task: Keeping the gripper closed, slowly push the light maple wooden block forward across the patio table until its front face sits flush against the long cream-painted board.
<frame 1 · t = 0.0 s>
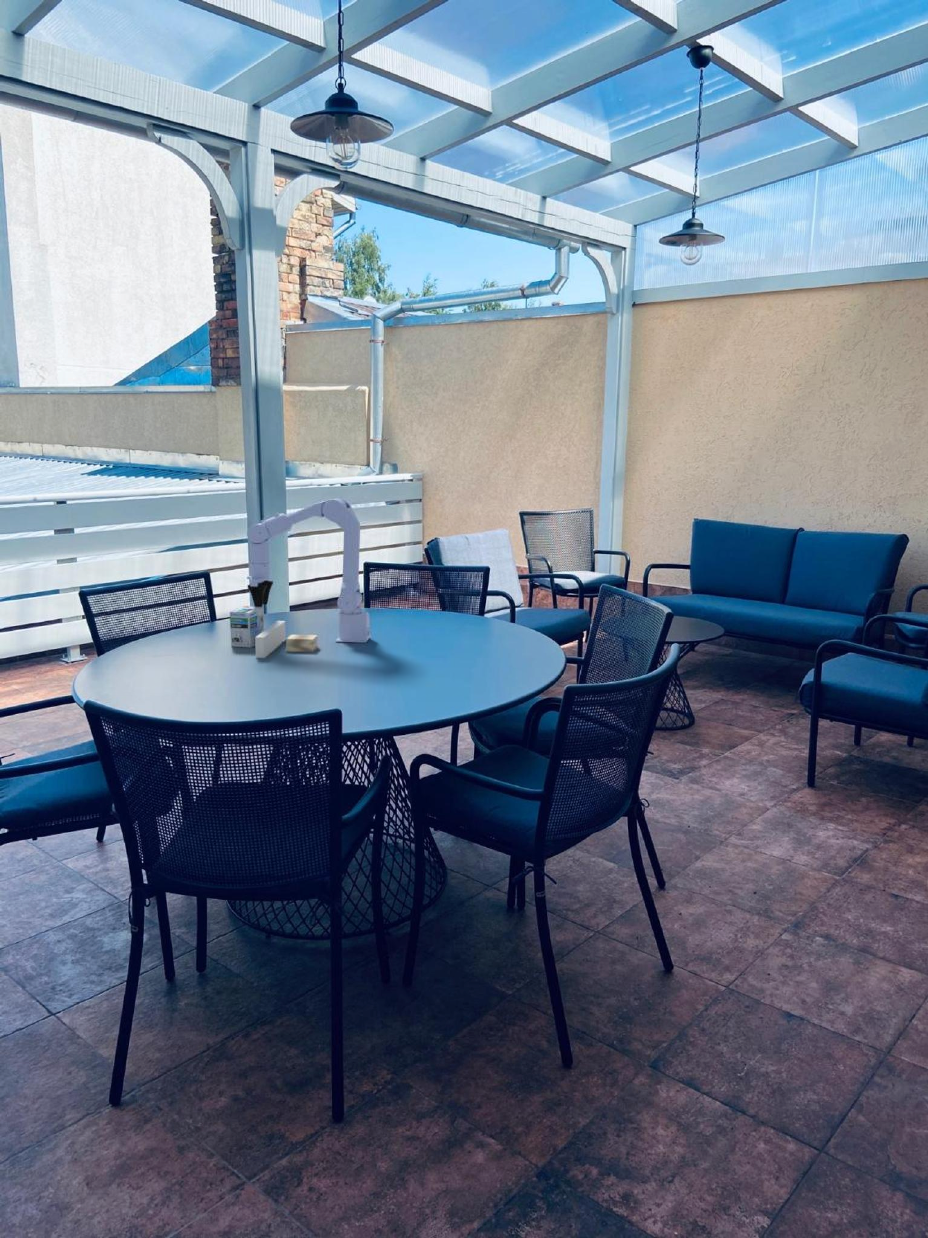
hand: (261, 605, 279), 10 cm above the table, tool pointing down, fingers open, 5 cm apart
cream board: (271, 648, 267), on the table
maple block: (302, 650, 267), on the table
light bulb box: (248, 644, 273), on the table, touching gripper
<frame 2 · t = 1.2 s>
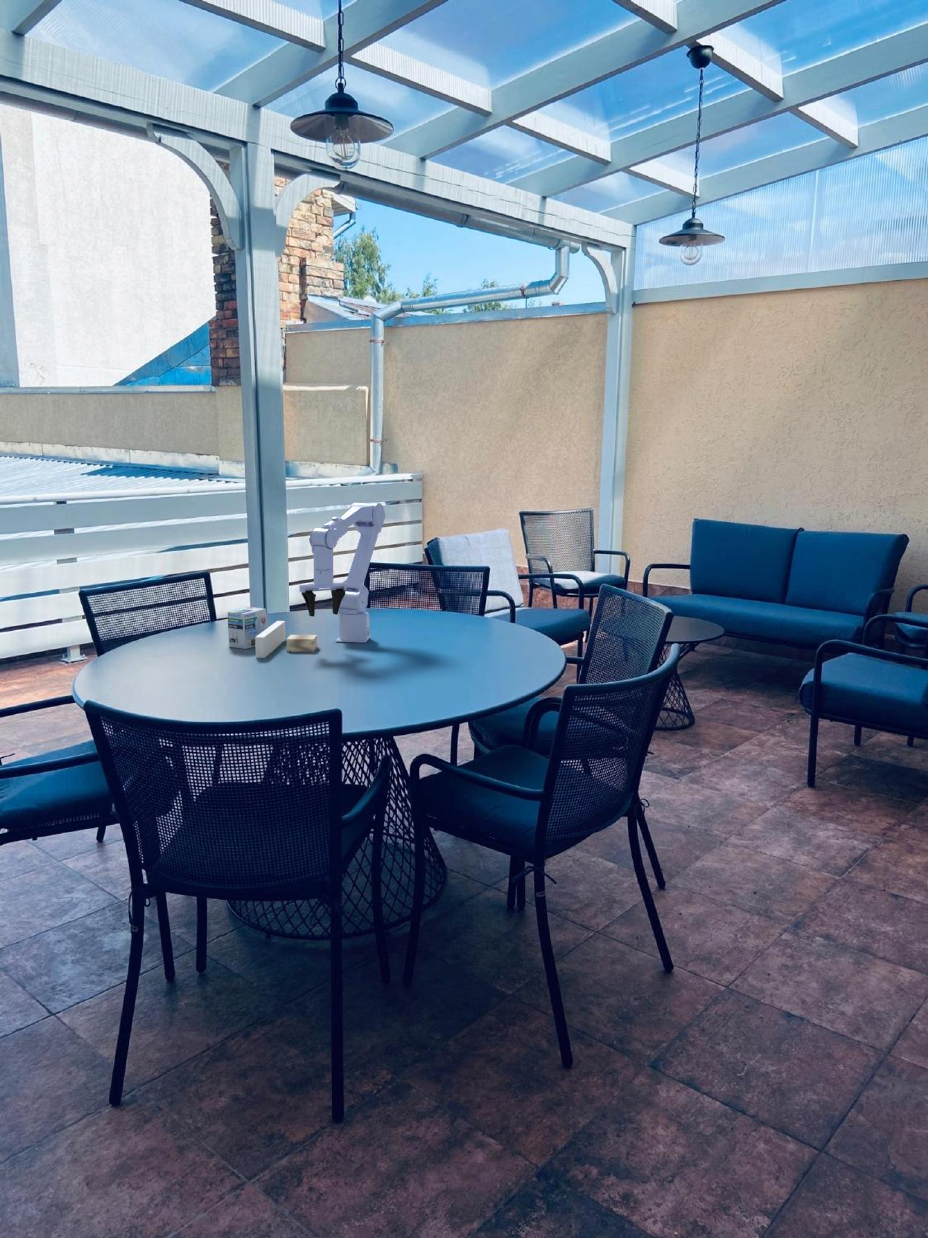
hand: (323, 615, 265), 10 cm above the table, tool pointing down, fingers open, 7 cm apart
light bulb box: (248, 645, 272), on the table
everything else where it was.
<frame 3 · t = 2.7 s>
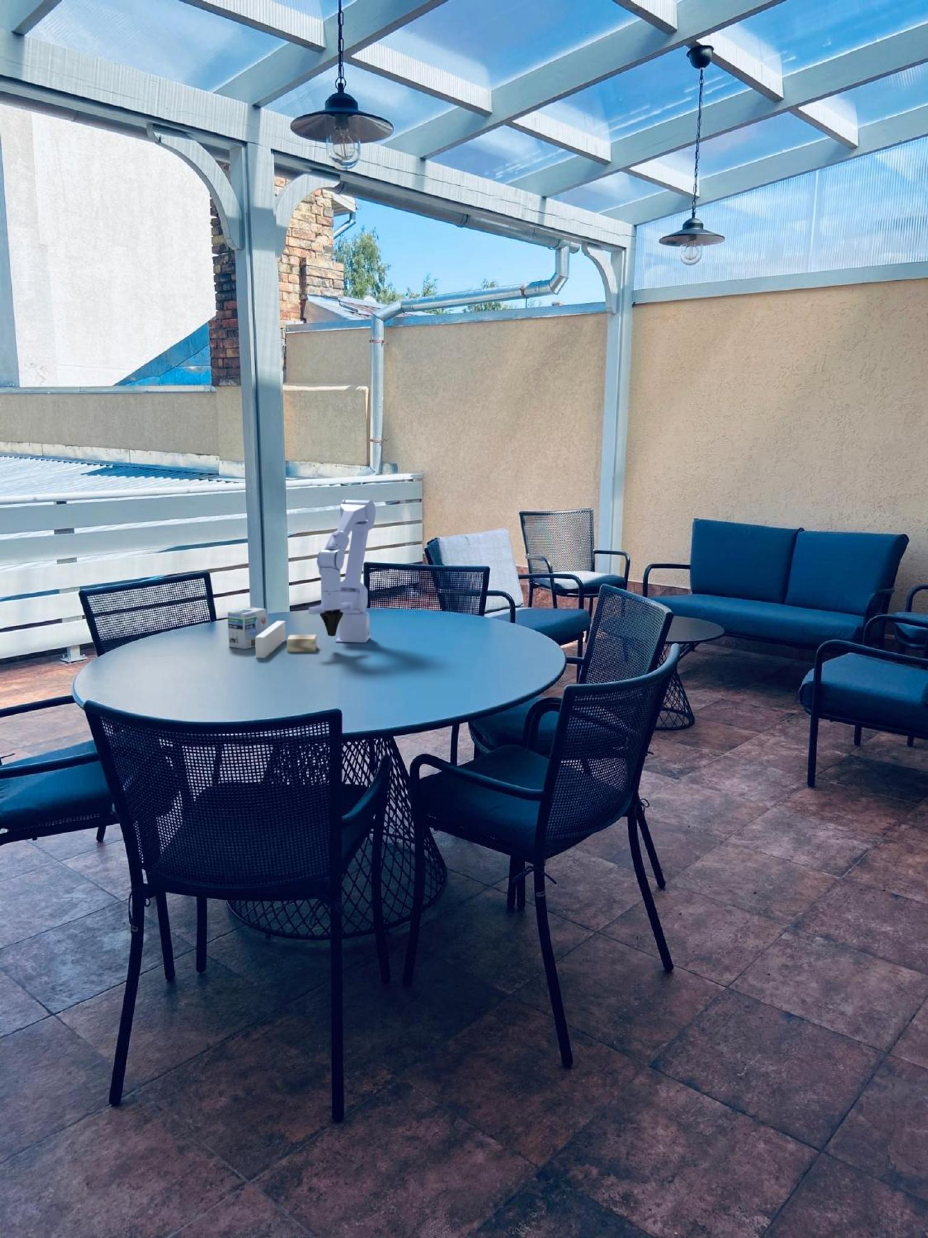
hand: (331, 635, 265), 4 cm above the table, tool pointing down, fingers closed
nothing on the table moved.
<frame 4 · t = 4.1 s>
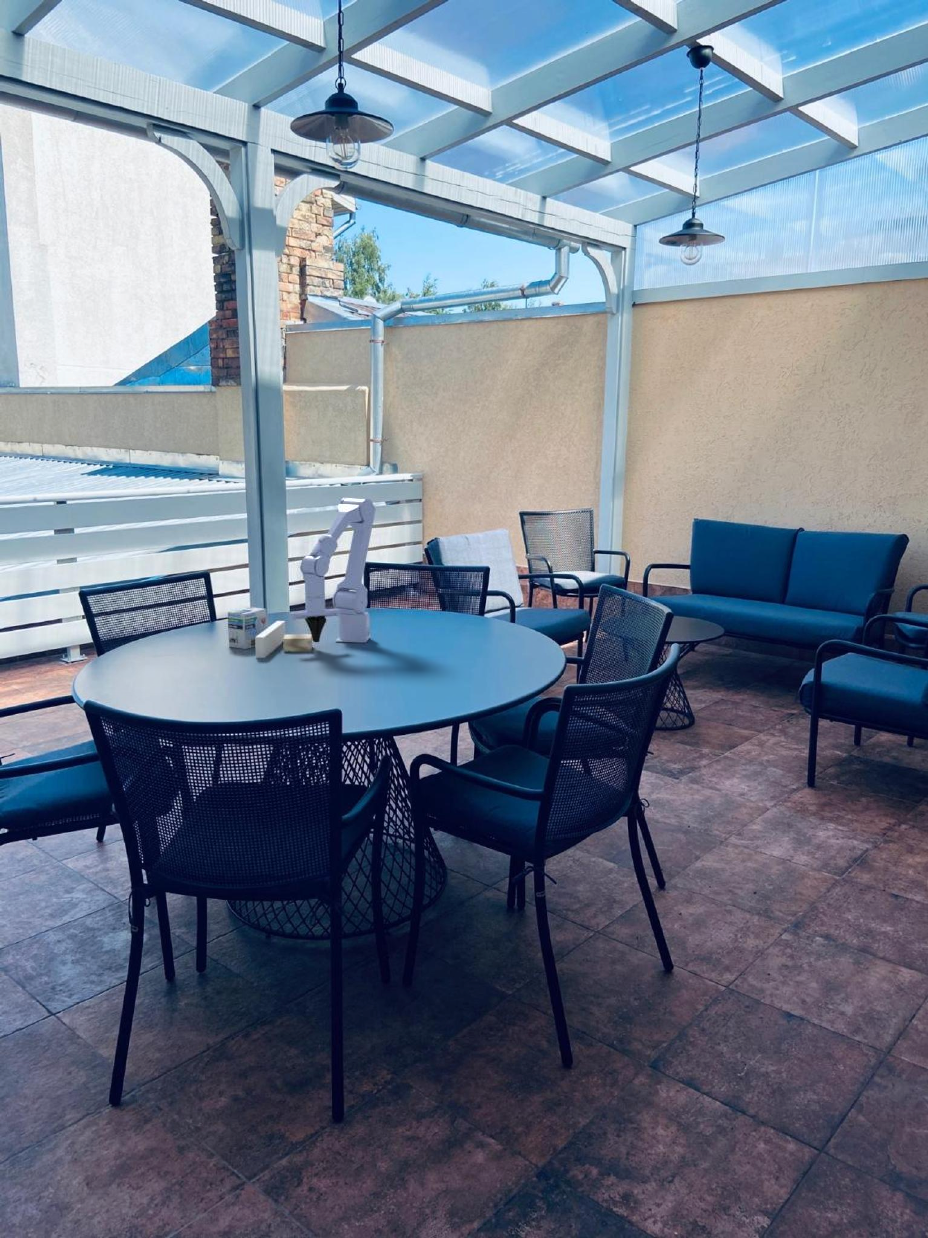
hand: (316, 641, 266), 2 cm above the table, tool pointing down, fingers closed
maple block: (298, 649, 267), on the table, touching gripper
everything else where it was.
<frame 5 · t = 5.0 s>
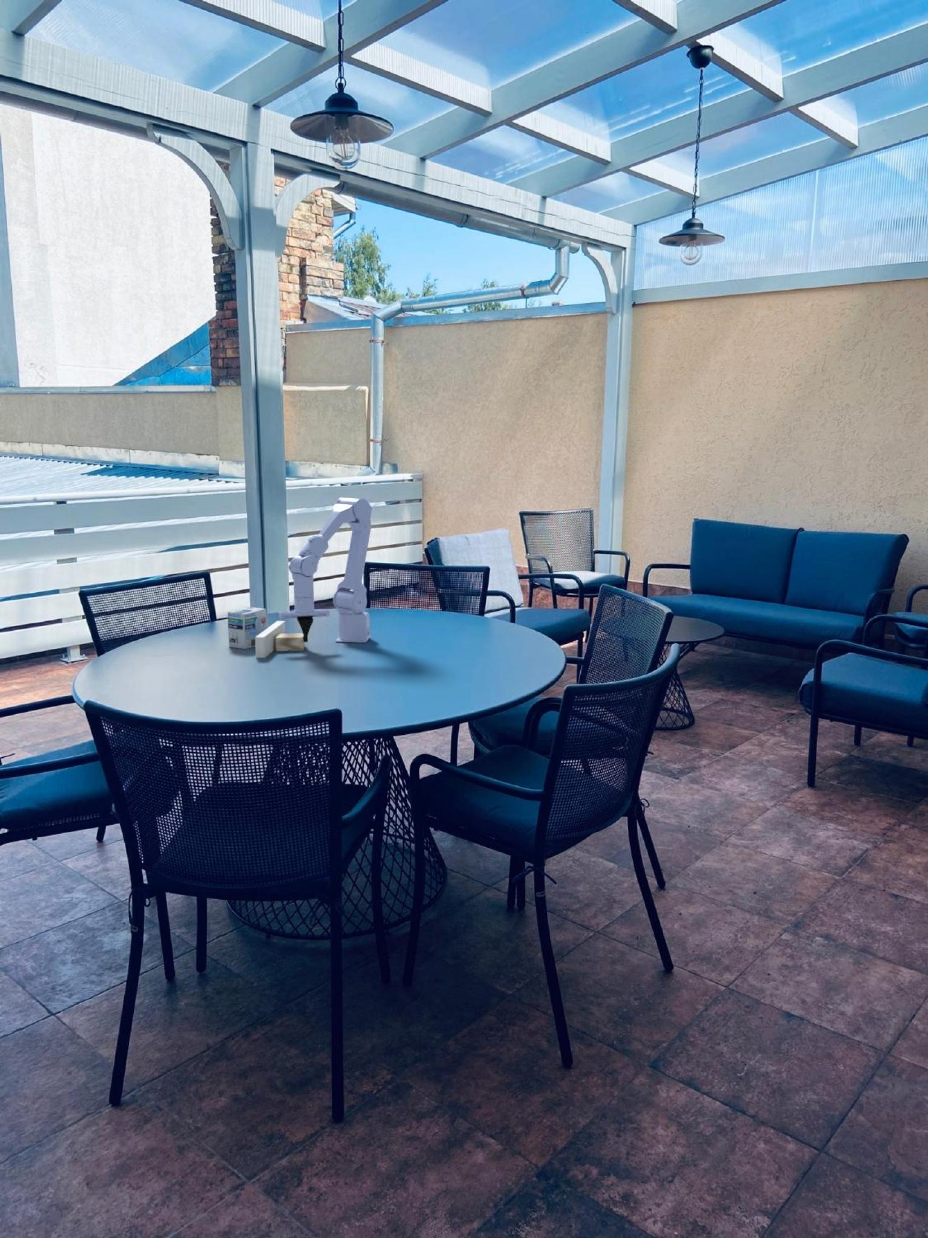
hand: (305, 641, 266), 2 cm above the table, tool pointing down, fingers closed, pressing on maple block
maple block: (290, 648, 267), on the table, touching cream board, gripper
everything else where it was.
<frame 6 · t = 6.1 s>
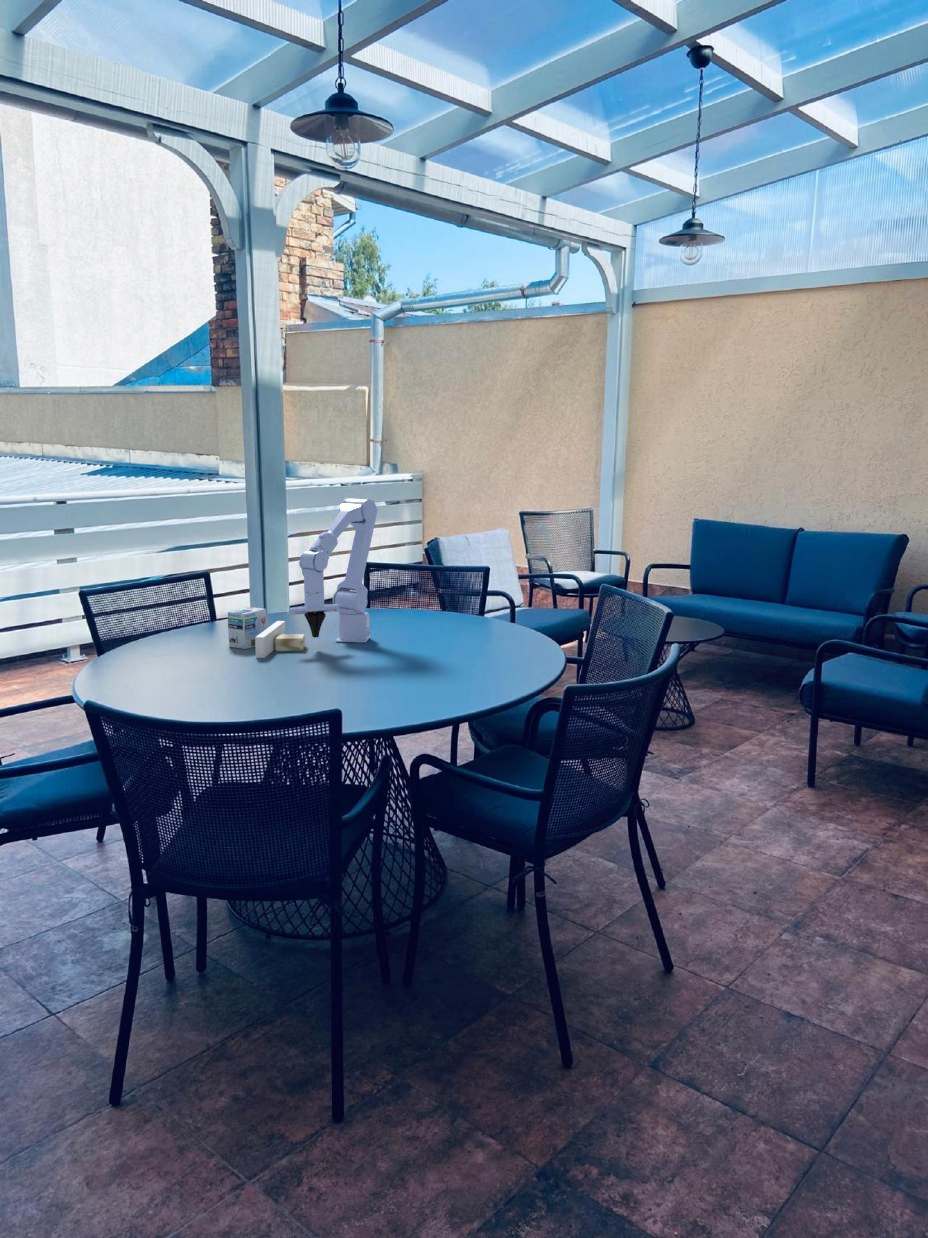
hand: (315, 636, 266), 4 cm above the table, tool pointing down, fingers closed
maple block: (290, 649, 267), on the table
everything else where it was.
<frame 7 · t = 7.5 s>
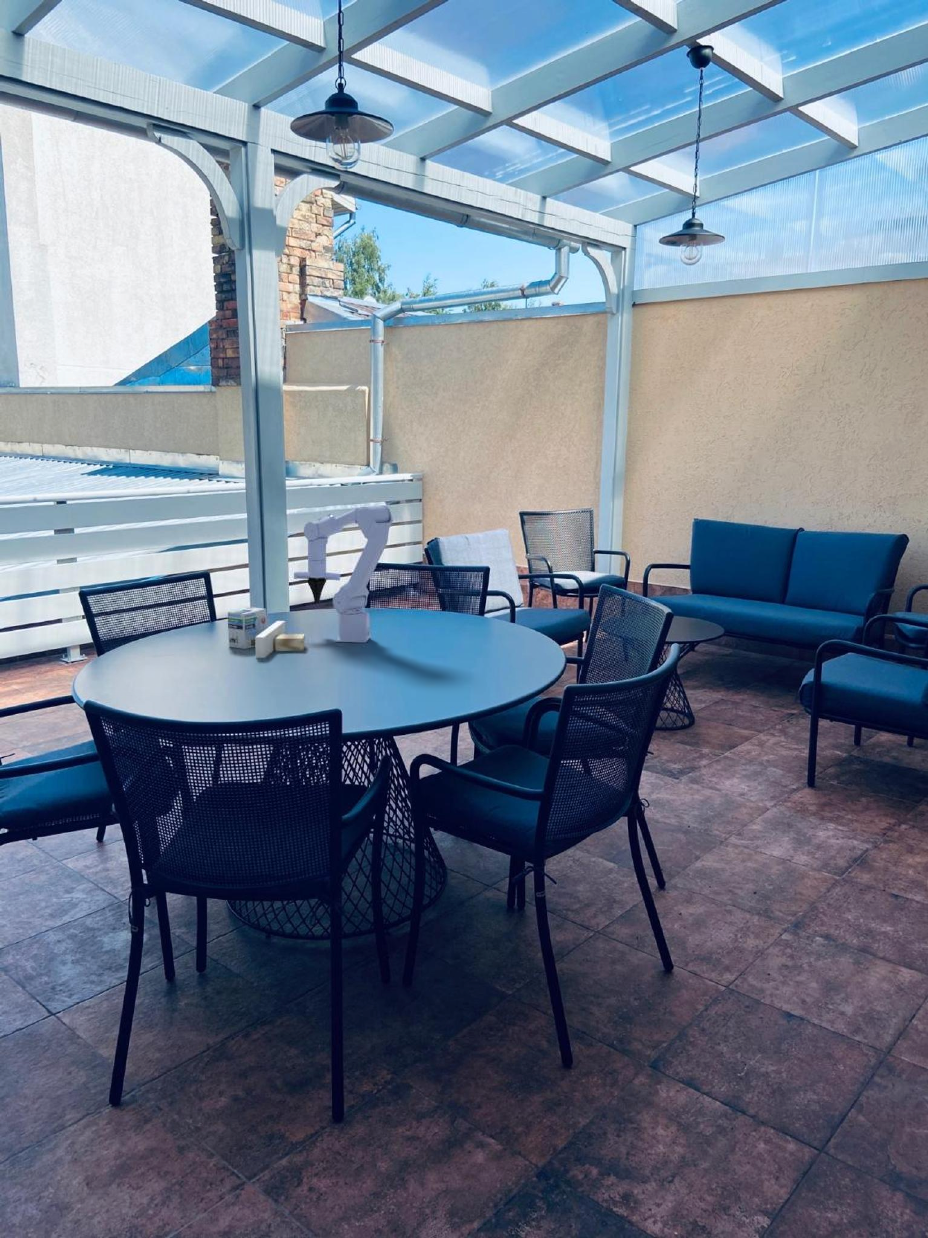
hand: (317, 601, 286), 10 cm above the table, tool pointing down, fingers closed
nothing on the table moved.
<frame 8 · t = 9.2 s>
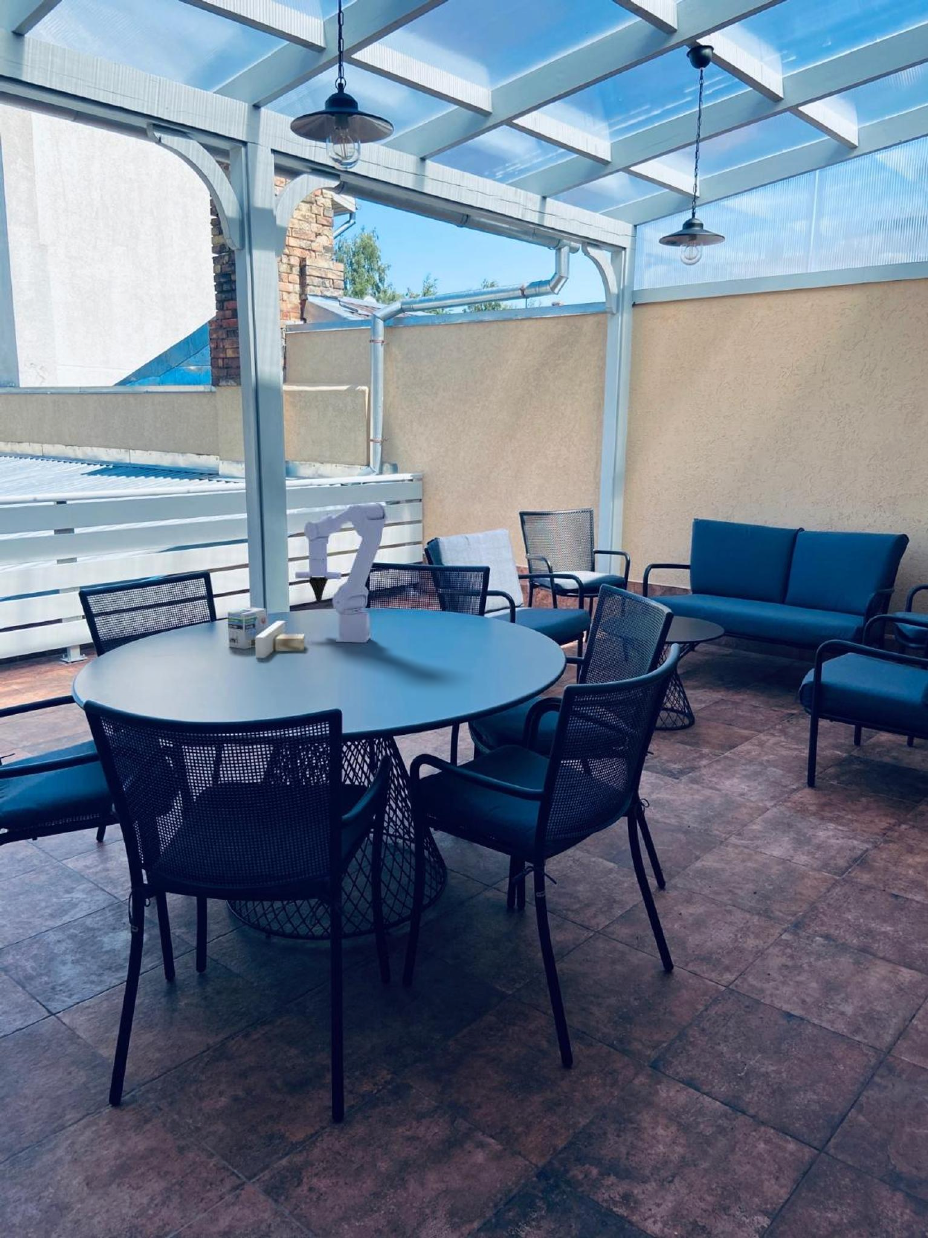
hand: (318, 600, 288), 10 cm above the table, tool pointing down, fingers closed
nothing on the table moved.
at the end: maple block inside the target area on the table beside the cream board (0.5 cm from its centre), on the table; maple block tilted 0° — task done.
